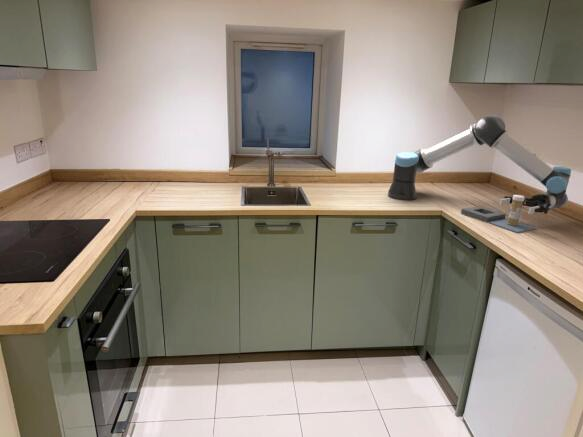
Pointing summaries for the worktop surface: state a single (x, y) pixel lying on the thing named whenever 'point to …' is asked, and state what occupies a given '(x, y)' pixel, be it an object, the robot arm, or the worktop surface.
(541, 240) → the worktop surface
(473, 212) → the collar block
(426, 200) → the worktop surface
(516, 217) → the sprinkles bottle
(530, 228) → the slate mat
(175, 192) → the worktop surface
